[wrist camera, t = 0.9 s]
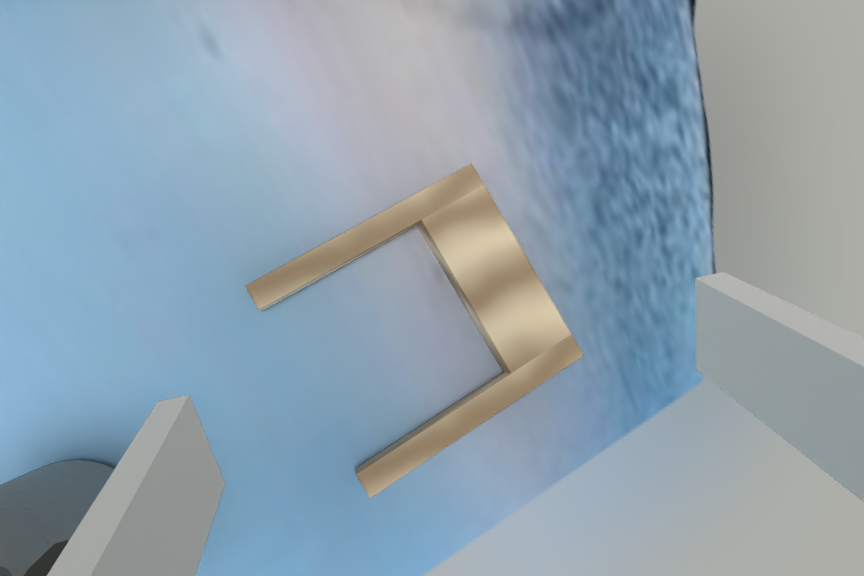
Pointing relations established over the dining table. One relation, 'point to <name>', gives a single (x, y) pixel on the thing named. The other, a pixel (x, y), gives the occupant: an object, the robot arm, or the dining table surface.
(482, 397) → the oak cut-out board
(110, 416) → the dining table surface
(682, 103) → the dining table surface
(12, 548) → the water bottle
